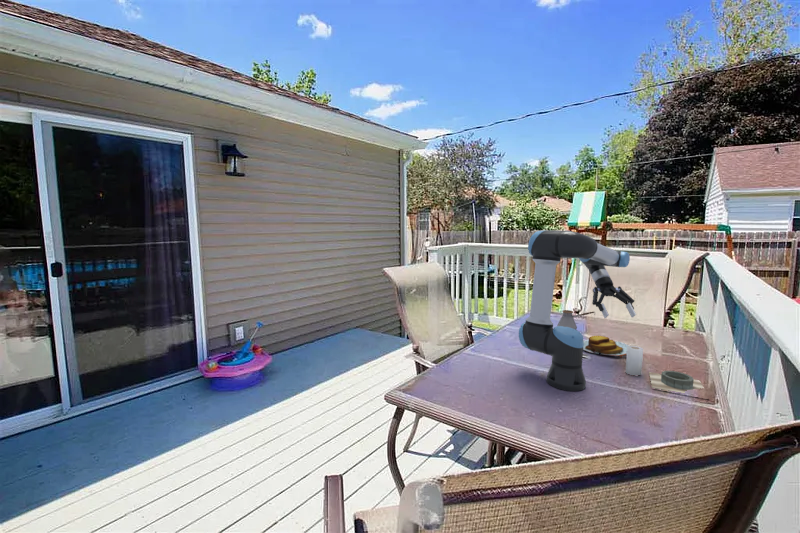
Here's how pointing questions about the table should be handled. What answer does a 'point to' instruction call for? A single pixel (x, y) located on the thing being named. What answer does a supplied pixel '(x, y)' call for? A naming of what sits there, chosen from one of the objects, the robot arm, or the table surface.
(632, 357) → the paper roll
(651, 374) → the roll holder
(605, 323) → the table surface
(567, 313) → the coffee pot
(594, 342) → the food on plate
